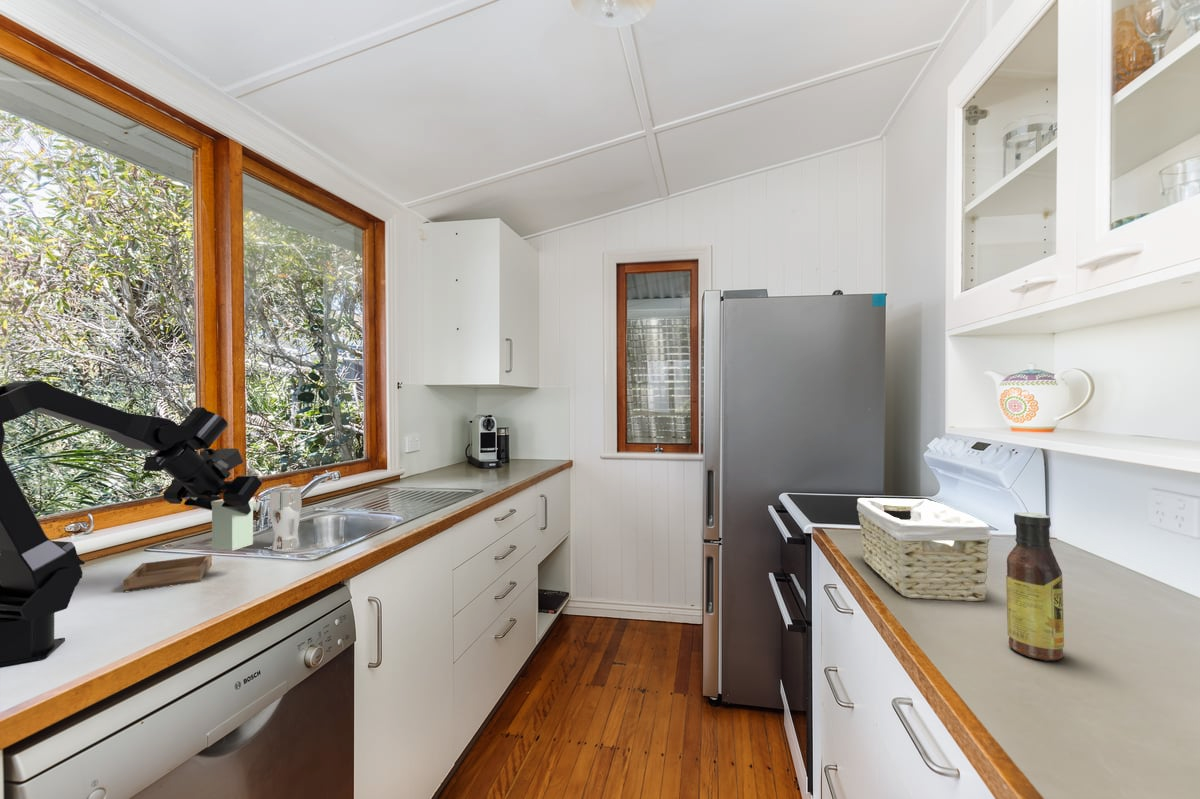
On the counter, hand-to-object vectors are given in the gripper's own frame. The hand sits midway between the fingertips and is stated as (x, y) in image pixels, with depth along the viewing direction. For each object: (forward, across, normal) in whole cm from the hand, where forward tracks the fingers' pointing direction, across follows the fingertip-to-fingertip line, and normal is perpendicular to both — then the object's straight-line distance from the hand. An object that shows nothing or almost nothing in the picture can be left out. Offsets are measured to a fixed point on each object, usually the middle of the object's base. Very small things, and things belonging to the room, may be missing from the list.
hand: (238, 512), depth 109 cm
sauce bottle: (+3, -145, +16) cm, 146 cm away
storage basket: (+24, -142, -4) cm, 144 cm away
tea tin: (+4, 0, +6) cm, 7 cm away
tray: (+7, +12, +12) cm, 19 cm away
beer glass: (+23, +6, -4) cm, 24 cm away
